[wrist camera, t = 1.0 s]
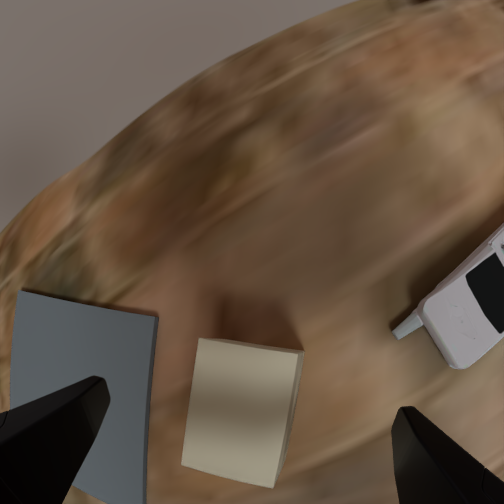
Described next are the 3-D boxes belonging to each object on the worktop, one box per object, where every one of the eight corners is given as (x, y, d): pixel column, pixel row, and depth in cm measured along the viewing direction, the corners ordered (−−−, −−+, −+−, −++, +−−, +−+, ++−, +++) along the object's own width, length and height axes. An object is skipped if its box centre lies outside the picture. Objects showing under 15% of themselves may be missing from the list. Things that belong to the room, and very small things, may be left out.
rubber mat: (146, 516, 19) (142, 519, 19) (16, 444, 24) (12, 445, 23) (158, 317, 24) (154, 316, 23) (22, 290, 28) (18, 289, 28)
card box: (285, 459, 19) (273, 488, 14) (210, 443, 20) (181, 464, 16) (305, 350, 21) (298, 354, 16) (226, 338, 22) (199, 337, 18)
